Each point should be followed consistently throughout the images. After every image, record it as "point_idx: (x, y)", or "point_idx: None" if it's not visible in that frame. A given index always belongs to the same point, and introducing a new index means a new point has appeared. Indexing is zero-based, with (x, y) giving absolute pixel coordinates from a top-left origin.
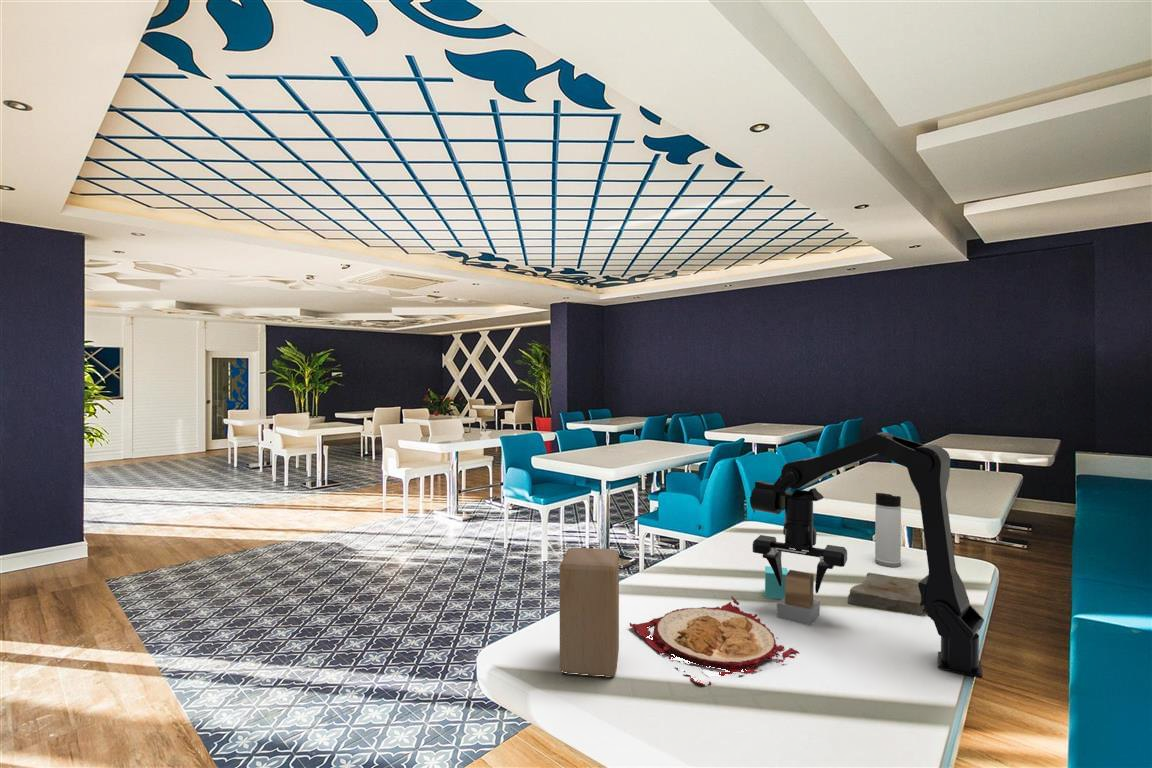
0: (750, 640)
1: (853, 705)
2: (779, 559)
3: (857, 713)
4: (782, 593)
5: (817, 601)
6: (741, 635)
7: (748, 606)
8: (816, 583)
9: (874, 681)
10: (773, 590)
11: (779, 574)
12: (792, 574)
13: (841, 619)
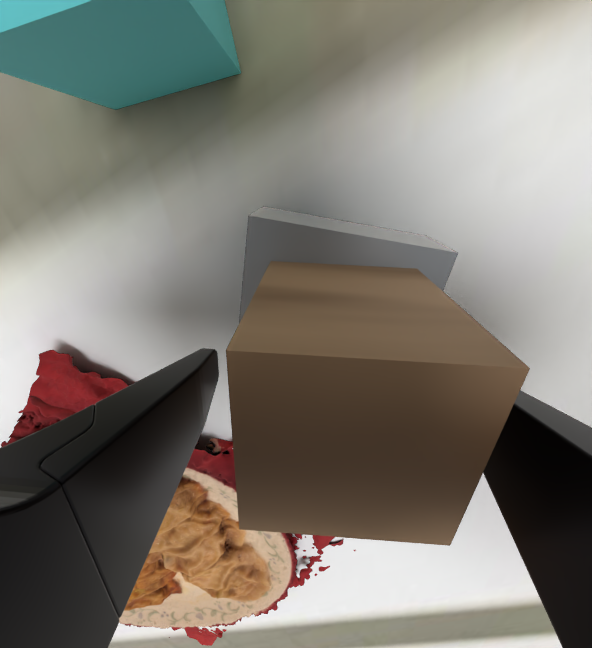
0: (228, 534)
1: (450, 624)
2: (39, 599)
3: (453, 635)
4: (195, 69)
5: (442, 266)
6: (206, 560)
7: (107, 290)
8: (498, 492)
9: (516, 568)
10: (130, 82)
11: (177, 486)
12: (286, 472)
13: (533, 236)
